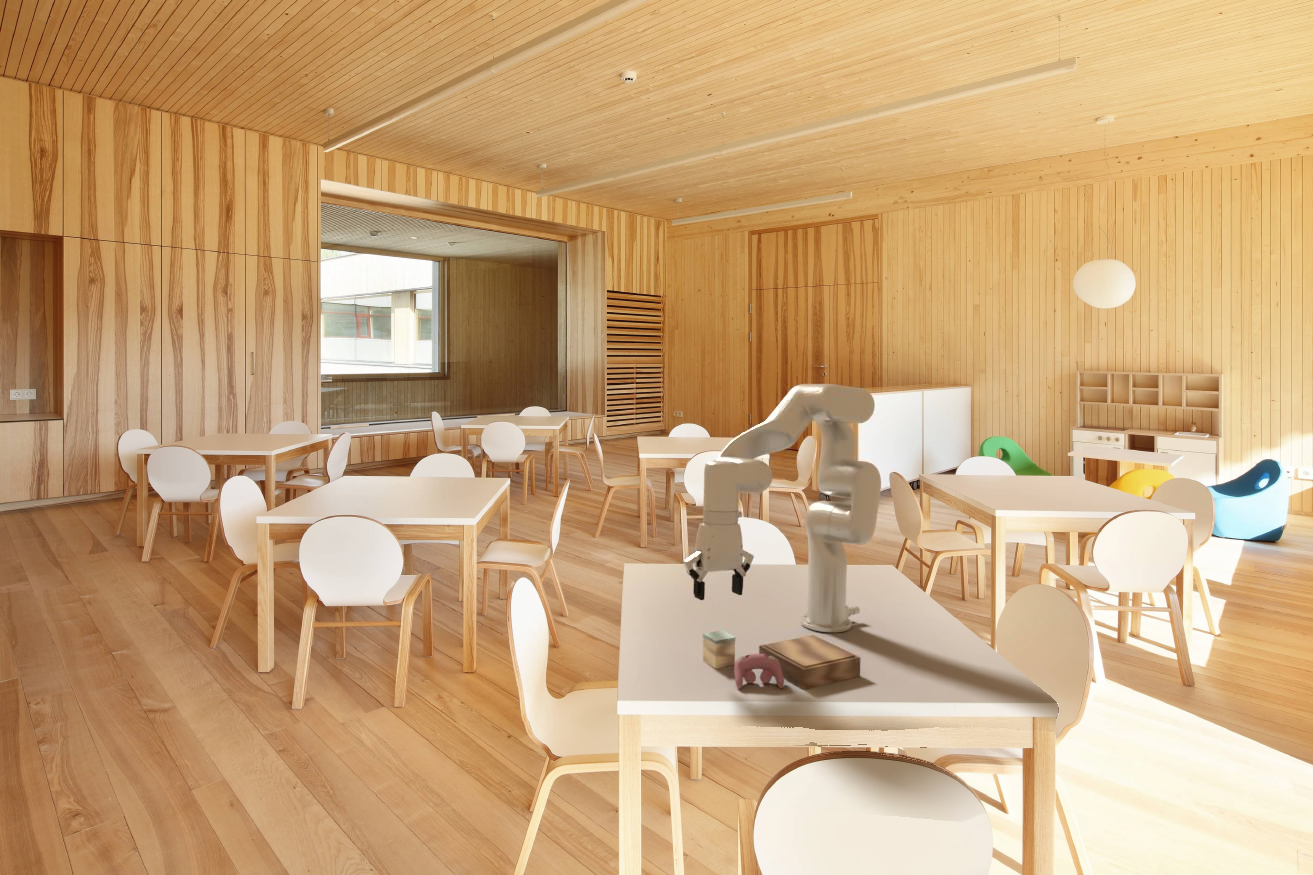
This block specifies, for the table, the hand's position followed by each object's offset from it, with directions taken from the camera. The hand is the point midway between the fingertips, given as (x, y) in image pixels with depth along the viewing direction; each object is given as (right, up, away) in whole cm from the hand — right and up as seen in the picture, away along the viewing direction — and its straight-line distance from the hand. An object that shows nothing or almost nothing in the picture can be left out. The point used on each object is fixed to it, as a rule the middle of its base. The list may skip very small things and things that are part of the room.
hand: (718, 596), depth 156 cm
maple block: (0, -15, +1) cm, 15 cm away
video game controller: (+7, -16, -10) cm, 20 cm away
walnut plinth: (+19, -15, -2) cm, 24 cm away
